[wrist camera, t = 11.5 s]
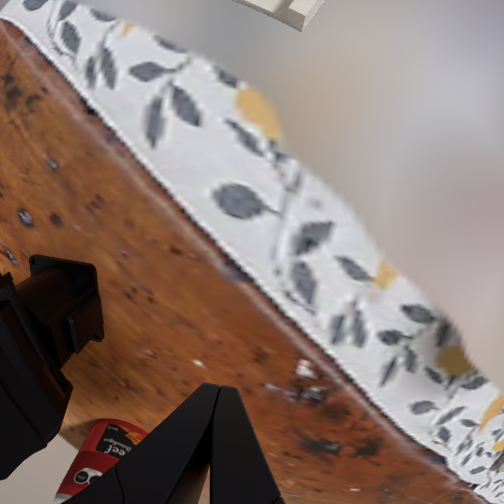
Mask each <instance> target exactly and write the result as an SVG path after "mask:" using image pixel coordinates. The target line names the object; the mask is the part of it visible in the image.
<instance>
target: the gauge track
mask: <svg viewBox="0 0 504 504" xmlns="http://www.w3.org/2000/svg"><path fill="white" fill-rule="evenodd" d="M234 1H236V2H239V3H241V4H244V5H246V6H248V7H251V8H253V9H255V10H257V11H260V12H262V13H264V14H266V15H268V16H270V17H273V18H275V19H277V20H279V21H281V22H283V23H285V24H287V25H289V26H291V27H293V28H295V29H297V30H298V31H300V32H302V31H303V29H304V28H305V27H306V25H307V24H308V22H309V21H310V19H311V18H312V17H313V15H314V14H315V13H316V11H317V10H318V9H319V7H320V6H321V5H322V3H323V2H324V0H234Z"/></svg>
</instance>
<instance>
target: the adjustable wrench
mask: <svg viewBox="0 0 504 504" xmlns="http://www.w3.org/2000/svg"><path fill="white" fill-rule="evenodd" d="M496 466H497V468H498V470H499V472H504V454H503V456H502V457H501V458H500V459H499V461H498V462H497V464H496Z"/></svg>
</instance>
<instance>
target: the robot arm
mask: <svg viewBox="0 0 504 504" xmlns="http://www.w3.org/2000/svg"><path fill="white" fill-rule="evenodd" d="M34 260H35V261H34ZM35 262H36V263H35ZM29 263H30V270H31V276H30V277H29V278H27V279H26V280H24V281H23V282H21V283H20V284H18V285H17V286H14V283H13V281H12V280H13V278H12V276H11V273H10V272H8V273H5V274H3V275H1V273H0V480H4V479H6V478H7V477H9V475H10V474H11V473H12V472H13V471H14V470H15V469H16V468H17V467H18V466H19V465H20V464H21V463H22V462H23V461H24V460H25V459H27V458H28V457H29V456H31V455H32V454H34V453H35V452H38V451H40V450H42V449H44V448H45V447H46V446H47V443H49V442H50V441H51V440H52V439H53V438H54V437H55V436H56V435H57V433H58V432H59V430H60V428H61V425H62V422H63V419H64V415H65V412H66V409H67V406H68V402H69V399H70V396H71V393H72V390H73V386H72V384H71V383H70V381H68V380H67V379H66V378H65V376H64V375H63V373H62V372H61V370H60V369H61V368H62V367H63V366H64V364H65V363H66V362H67V361H68V360H69V358H70V357H71V356H72V355H73V354H74V353H75V354H78V353H79V352H80V351H81V350H82V349H83V348H84V347H85V345H86V344H87V343H88V342H89V341H90V340H92V341H96V342H101V341H102V340H103V339H104V330H103V324H104V322H103V315H102V307H101V299H100V295H99V292H98V282H97V272H96V268H95V266H94V265H93V264H90V263H84V262H78V261H72V260H66V259H60V258H54V257H48V256H42V255H36V254H34V255H32V256H31V257H30V258H29ZM88 269H89V270H90V271H91V273H89V271H88ZM97 335H98V336H97ZM209 466H210V504H285V502H284V499H283V498H282V497H280V496H281V493H280V491H279V489H278V486H277V484H276V482H275V479H274V477H273V475H272V472H271V470H270V468H269V465H268V463H267V461H266V458H265V456H264V453H263V451H262V448H261V446H260V444H259V441H258V439H257V436H256V434H255V431H254V429H253V426H252V424H251V421H250V419H249V416H248V413H247V411H246V408H245V406H244V403H243V400H242V398H241V395H240V392H239V390H238V388H236V387H230V386H221V387H220V386H219V385H216V384H209V383H203V384H202V385H200V386H199V387H198V388H197V389H196V390H195V391H194V392H193V393H192V394H191V395H190V396H189V397H188V398H187V399H186V400H185V401H184V402H183V403H182V404H181V405H180V406H179V407H177V408H176V409H175V410H174V411H173V412H172V413H171V414H170V415H169V416H168V417H167V418H166V419H165V420H164V421H162V422H161V423H160V424H159V425H158V426H157V427H156V428H155V429H154V430H153V431H152V432H150V433H149V434H148V435H147V436H146V437H145V438H144V439H143V440H142V441H140V442H139V443H138V444H137V445H136V446H135V447H134V448H133V449H131V450H130V451H129V452H128V453H127V454H126V455H125V456H124V457H122V458H121V459H120V460H119V461H118V462H117V463H115V464H114V467H111V468H109V469H108V470H107V471H106V472H105V473H104V474H102V475H101V476H100V477H99V478H97V479H96V480H95V481H94V482H92V483H91V484H90V485H88V486H87V487H86V488H84V489H83V490H81V491H80V492H78V493H77V494H75V495H74V496H72V497H70V498H69V499H67V500H66V501H64V502H62V503H60V504H198V501H199V498H200V495H201V492H202V489H203V485H204V482H205V479H206V476H207V473H208V470H209Z"/></svg>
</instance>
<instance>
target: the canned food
mask: <svg viewBox="0 0 504 504" xmlns="http://www.w3.org/2000/svg"><path fill="white" fill-rule="evenodd" d="M147 435H148V434H147V433H146V432H144V431H143V430H141V429H140V428H138V427H136V426H134V425H132V424H129V423H126V422H123V421H120V420H113V419H106V420H102V421H100V422H98V423H97V424H96V425H94V426H93V428H92V429H91V431H90V432H89V434H88V436H87V438H86V440H85V441H84V443H83V445H82V447H81V448H80V450H79V452H78V454H77V456H76V457H75V459H74V461H73V463H72V465H71V466H70V468H69V470H68V472H67V474H66V476H65V477H64V479H63V481H62V483H61V485H60V487H59V489H58V491H57V493H56V496H55V499H54V502H55V504H60V503H62V502H64V501H66V500H67V499H69V498H70V497H72V496H74V495H75V494H77V493H78V492H80V491H81V490H83V489H84V488H86V487H87V486H88V485H90V484H91V483H92V482H94V481H95V480H96V479H97V478H99V477H100V476H101V475H102V474H104V473H105V472H106V471H107V470H108V469H109V468H111V467H114V464H115V463H117V462H118V461H119V460H120V459H121V458H122V457H124V456H125V455H126V454H127V453H128V452H129V451H130V450H131V449H133V448H134V447H135V446H136V445H137V444H138V443H139V442H140V441H142V440H143V439H144V438H145V437H146V436H147Z"/></svg>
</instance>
